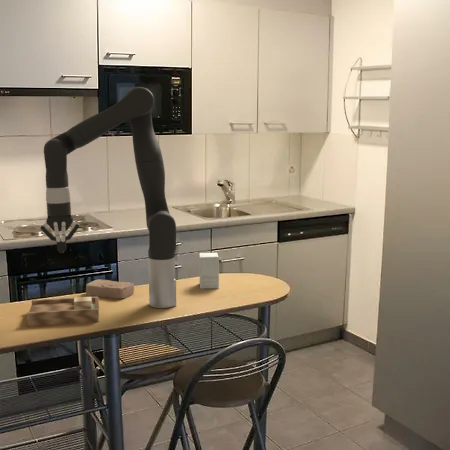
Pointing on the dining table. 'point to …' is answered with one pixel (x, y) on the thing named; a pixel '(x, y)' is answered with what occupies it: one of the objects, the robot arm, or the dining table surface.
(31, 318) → the tray
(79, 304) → the block
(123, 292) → the brick
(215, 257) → the supplement box
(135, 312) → the dining table surface
